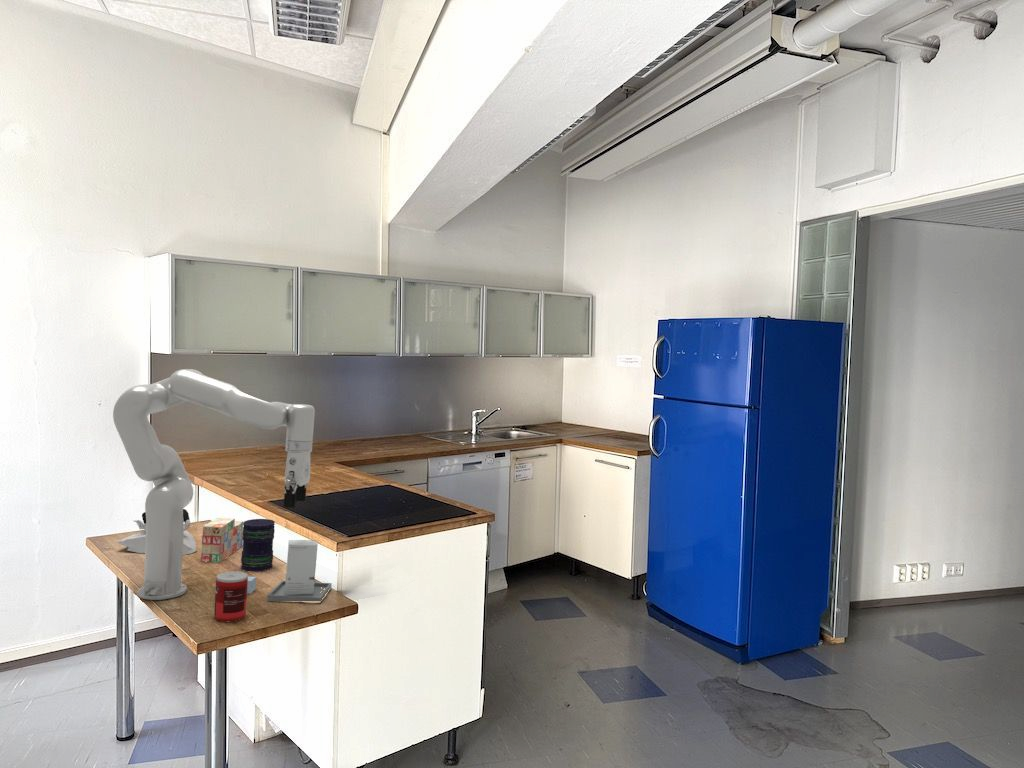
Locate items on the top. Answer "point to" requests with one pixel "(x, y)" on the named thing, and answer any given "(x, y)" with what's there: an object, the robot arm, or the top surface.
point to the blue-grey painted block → (251, 584)
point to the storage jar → (257, 544)
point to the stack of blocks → (221, 539)
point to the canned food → (230, 596)
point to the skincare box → (301, 567)
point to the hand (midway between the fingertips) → (294, 503)
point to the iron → (139, 540)
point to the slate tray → (279, 595)
